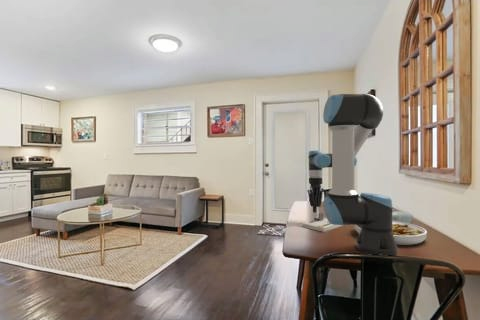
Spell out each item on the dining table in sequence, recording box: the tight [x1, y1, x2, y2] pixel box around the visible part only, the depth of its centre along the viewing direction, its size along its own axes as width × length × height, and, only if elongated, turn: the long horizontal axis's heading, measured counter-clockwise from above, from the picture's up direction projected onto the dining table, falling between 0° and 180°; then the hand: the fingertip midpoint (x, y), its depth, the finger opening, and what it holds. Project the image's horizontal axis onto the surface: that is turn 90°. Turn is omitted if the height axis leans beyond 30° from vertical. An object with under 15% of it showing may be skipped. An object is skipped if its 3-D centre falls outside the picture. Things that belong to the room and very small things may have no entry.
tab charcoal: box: [313, 211, 324, 221], centre depth 150 cm, size 4×4×4 cm
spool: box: [392, 210, 414, 224], centre depth 143 cm, size 14×10×10 cm
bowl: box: [354, 221, 428, 246], centre depth 125 cm, size 30×30×8 cm
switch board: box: [301, 216, 344, 233], centre depth 146 cm, size 22×14×2 cm, turn 129°
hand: (315, 217), depth 149 cm, fingers closed
